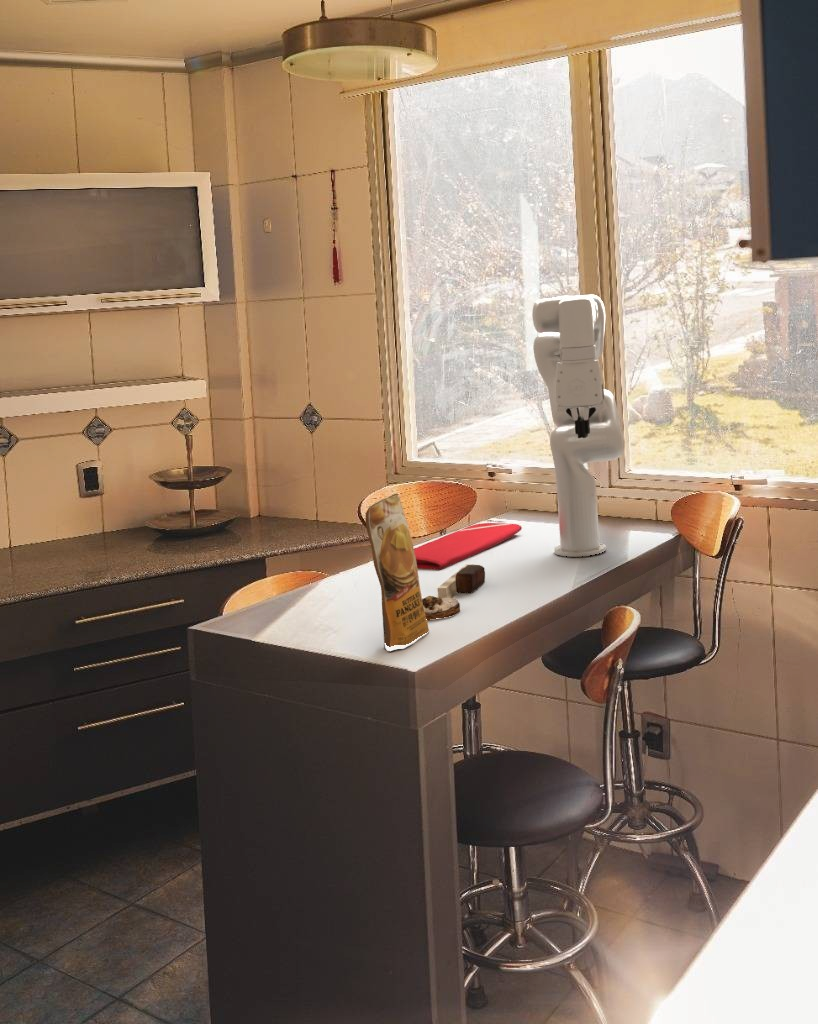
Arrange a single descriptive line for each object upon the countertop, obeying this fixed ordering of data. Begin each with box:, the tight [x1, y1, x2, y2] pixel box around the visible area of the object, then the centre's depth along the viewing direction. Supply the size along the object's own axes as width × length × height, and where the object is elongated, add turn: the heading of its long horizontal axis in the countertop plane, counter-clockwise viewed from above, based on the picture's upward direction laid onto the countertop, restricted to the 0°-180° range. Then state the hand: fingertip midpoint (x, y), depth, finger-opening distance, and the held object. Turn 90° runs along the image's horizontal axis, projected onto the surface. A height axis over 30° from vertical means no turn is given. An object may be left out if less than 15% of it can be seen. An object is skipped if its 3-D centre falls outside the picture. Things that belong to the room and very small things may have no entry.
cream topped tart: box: [422, 595, 461, 621], centre depth 252 cm, size 15×15×4 cm
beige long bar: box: [437, 563, 475, 598], centre depth 270 cm, size 22×2×3 cm, turn 161°
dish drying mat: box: [413, 522, 523, 571], centre depth 311 cm, size 16×41×4 cm, turn 145°
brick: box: [455, 564, 486, 594], centre depth 270 cm, size 11×4×5 cm, turn 161°
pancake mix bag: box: [365, 493, 430, 647], centre depth 231 cm, size 7×19×28 cm, turn 155°
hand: (582, 437), depth 268 cm, fingers closed
